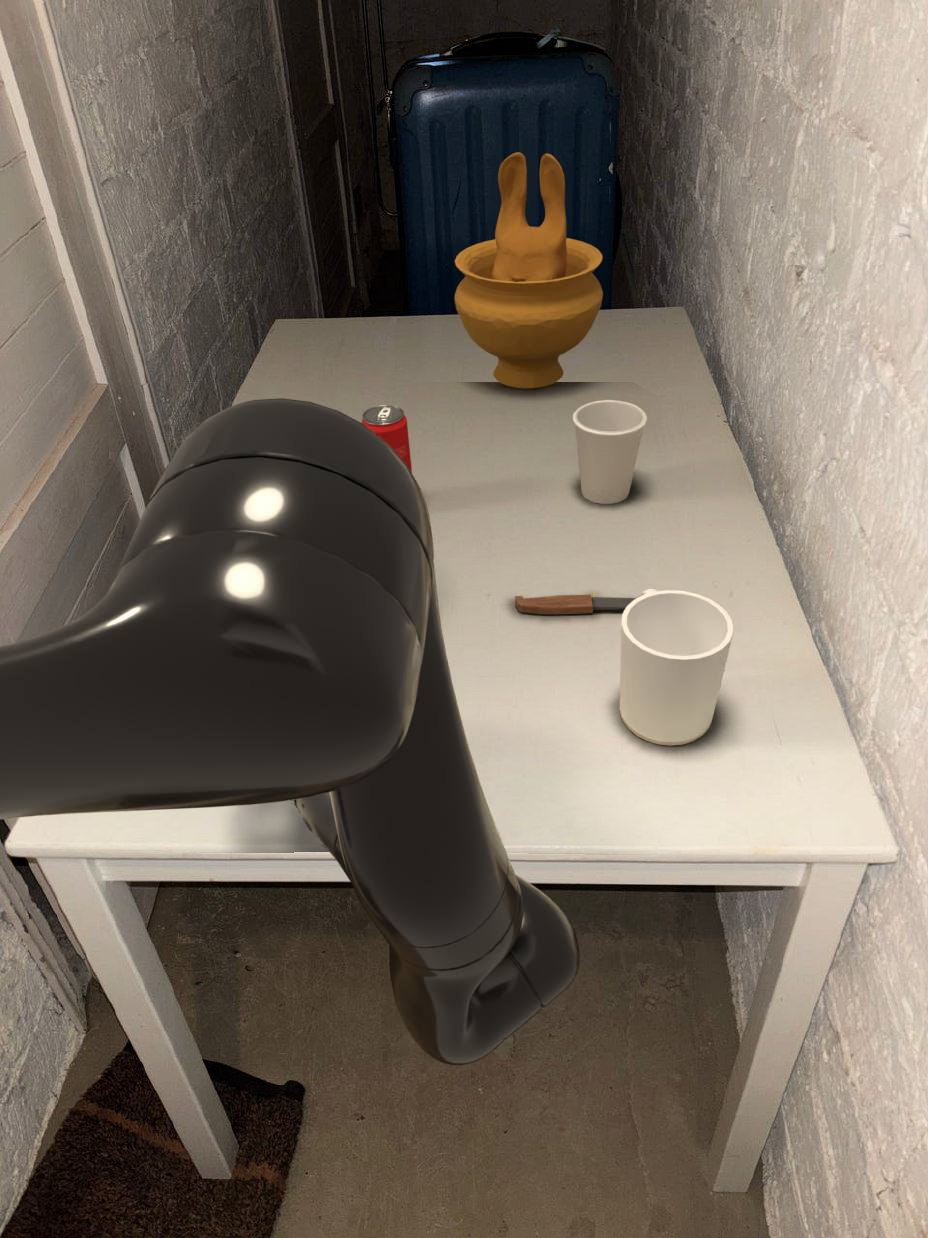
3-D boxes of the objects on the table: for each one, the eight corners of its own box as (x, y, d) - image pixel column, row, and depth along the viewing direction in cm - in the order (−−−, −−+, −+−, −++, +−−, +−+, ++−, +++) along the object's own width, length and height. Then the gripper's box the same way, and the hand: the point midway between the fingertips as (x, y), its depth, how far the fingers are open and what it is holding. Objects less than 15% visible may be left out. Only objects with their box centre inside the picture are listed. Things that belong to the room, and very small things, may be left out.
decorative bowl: (436, 393, 133) (420, 170, 114) (488, 339, 148) (482, 134, 129) (574, 412, 126) (582, 179, 107) (615, 353, 141) (627, 139, 122)
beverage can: (367, 516, 108) (354, 424, 101) (377, 493, 112) (366, 403, 104) (410, 518, 107) (400, 425, 100) (418, 495, 111) (410, 404, 104)
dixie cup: (638, 512, 106) (645, 434, 100) (566, 507, 107) (569, 430, 101) (642, 476, 112) (648, 400, 106) (574, 471, 114) (576, 397, 107)
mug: (734, 739, 78) (752, 648, 71) (635, 759, 76) (644, 668, 70) (683, 657, 86) (695, 569, 80) (593, 674, 85) (598, 585, 78)
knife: (677, 586, 93) (682, 604, 90) (676, 594, 93) (681, 612, 91) (514, 590, 93) (515, 608, 91) (514, 598, 94) (515, 616, 92)
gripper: (434, 703, 62) (323, 583, 74) (243, 795, 57) (155, 650, 68) (441, 777, 67) (335, 653, 79) (264, 869, 61) (178, 721, 73)
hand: (252, 652), depth 73 cm, fingers closed on lollipop, 3 cm apart
